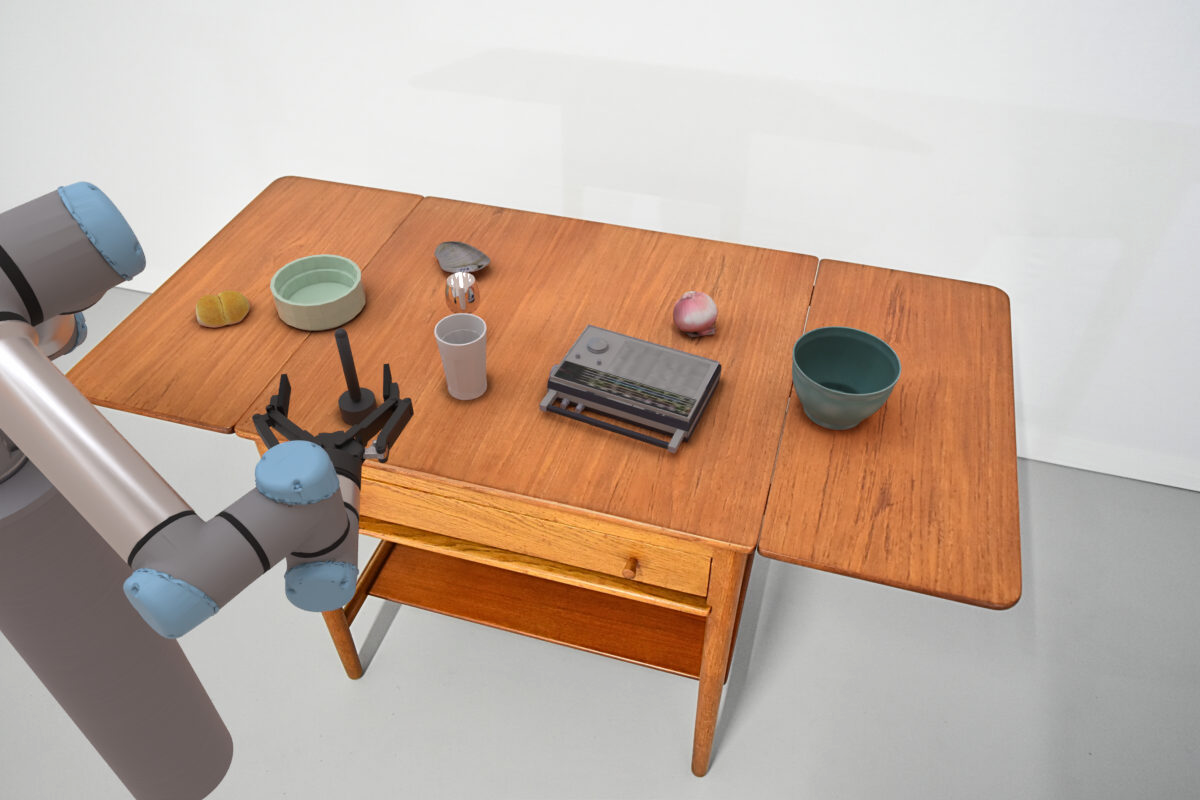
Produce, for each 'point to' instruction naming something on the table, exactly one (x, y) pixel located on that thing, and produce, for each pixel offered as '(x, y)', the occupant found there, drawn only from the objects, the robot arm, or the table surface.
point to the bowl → (318, 292)
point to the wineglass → (462, 293)
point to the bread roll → (221, 309)
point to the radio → (632, 386)
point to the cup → (463, 354)
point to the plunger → (352, 386)
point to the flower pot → (843, 375)
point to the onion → (695, 314)
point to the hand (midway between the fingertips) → (337, 376)
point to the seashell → (460, 257)
